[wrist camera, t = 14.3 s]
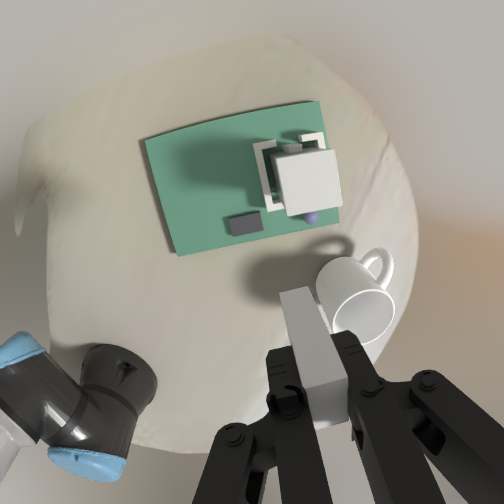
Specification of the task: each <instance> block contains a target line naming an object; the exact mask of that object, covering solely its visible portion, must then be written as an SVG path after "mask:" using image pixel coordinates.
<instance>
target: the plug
mask: <svg viewBox="0 0 504 504" xmlns="http://www.w3.org/2000/svg"><path fill="white" fill-rule="evenodd" d="M281 147H282V151H279V152H274V153H269V154H268V157H269V162H270V166H271V171H272V176H273V181H274V186H275V191H276V194H277V196H278V197H279V199H280V201H281V203H282V205H283V206H284V208H285V213H286V215H287V216H293V215H298V214H303V213H308V212H313V211H318V210H323V209H328V208H333V207H339V206H343V202H342V195H341V188H340V181H339V174H338V168H337V162H336V156H335V150H334V149H330V148H329V149H322V148H315V147H308V146H307V147H302V144H294V143H291V144H286V145H281Z"/></svg>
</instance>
